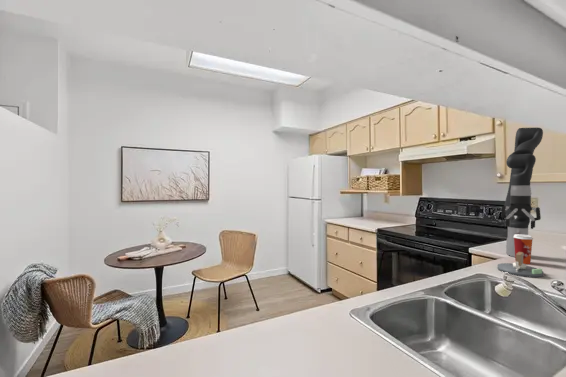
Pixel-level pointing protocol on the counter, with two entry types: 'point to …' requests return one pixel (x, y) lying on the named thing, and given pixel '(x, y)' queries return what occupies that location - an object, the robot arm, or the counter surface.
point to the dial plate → (520, 270)
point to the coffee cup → (523, 246)
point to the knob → (519, 261)
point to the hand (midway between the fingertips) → (520, 227)
